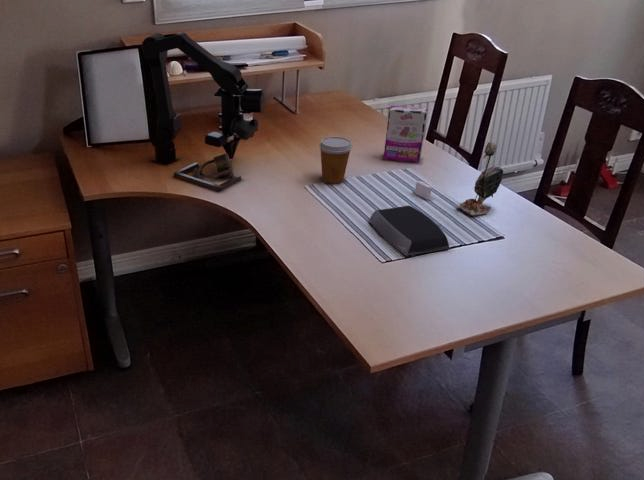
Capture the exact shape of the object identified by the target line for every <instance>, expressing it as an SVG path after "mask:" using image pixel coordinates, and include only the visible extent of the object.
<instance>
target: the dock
mask: <svg viewBox="0 0 644 480" xmlns="http://www.w3.org/2000/svg"><path fill="white" fill-rule="evenodd" d="M195 168H198V169H199V168H200V163H199V162H196V161H195V162H193V163H192V164H189V165H187V166H185V167H183V168H181V169H178V170H177V171H174V172H173V178H175V179H178V180H181V181H185V182H188V183H190V184H193V185H196V186H200V187H203V188H206V189H209V190H212V191H215V192H218V193H220V192H223V191H224V190H226V189H228V188H229V187H231V186H233V185H236V184H237V183H239V182H241V181H242V176H241V175H239V174H238V175H235V176H234V177H233V178H232V177H231V178H230V179H227V180H226V181H224V182H222V183H220V184H216V183H214V182H210V181H207V180H204V179H201V178H200V179H198V178H195V177H194V176H193V175H188V173H190V172H193V171H194V169H195Z"/></svg>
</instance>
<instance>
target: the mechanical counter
mask: <svg viewBox="0 0 644 480" xmlns="http://www.w3.org/2000/svg"><path fill="white" fill-rule="evenodd" d="M231 161H232V160H231V159H230V158H229V155H228V154H227V153H226V152H225V153H223V154H220V155H217V156H213V159H210V160H207V161H206V162H205V163H203V164H202V165H201V167H200V170H199V168H195V169H194V170H192V177H195V178H198V179H201V176H202V177H203V178H206V179H215V178H217V177H219V178H222V177H225V176H228V175H230V176H231V179H232V178H234V177H235V176H234V172H233V170H234V169H233V165H232V162H231ZM210 164H214V165H215V166H214V167H215V170H216V172H217V173H214V174H210V175H209V174H205V173H203V171H204V169H205V167H207V166H208V165H210Z"/></svg>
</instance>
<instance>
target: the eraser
mask: <svg viewBox="0 0 644 480" xmlns="http://www.w3.org/2000/svg"><path fill="white" fill-rule="evenodd" d="M432 190H433V186H431V185H429V184H427V183H425V182H423V181H421V180H418V181H416V183H415V189H414V194H415V195H417V196H419V197H421V198H422V199H424V200H426V201H428V200H430V199H431V194H432Z"/></svg>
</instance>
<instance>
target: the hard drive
mask: <svg viewBox="0 0 644 480" xmlns="http://www.w3.org/2000/svg"><path fill="white" fill-rule="evenodd" d="M368 221H369V223H370V224H371V225H372V226H373V228H374V229H375V230H376V231H377V232H378V233H379V234H380V235H381V236H382V237H383V238H384V239H385V241H387V242H388V243H389V244H391V245H392V247H394V248H395V249H396V250H398V251H399V252H400V253H401V254H403V255H404V256H406V257H407V256H408V257H409V256H413V255H419V254H427V253H432V252H439V251H444V250H449V249H450V243H449V239H448V237H447V235H446V234H445V232H444V231H443V230H442V228H440V226H439V225H438V224H437V223H435V222H434V221H433V220H432V218H430V217H429V216H428V215H427V214H424V213H423V212H421V211H420V210H419V209H417V208H415V207H413V206H411V205H404V206H397V207H391V208H382V209H375V210H374V211H373V213H372V214H371V216H370V217H369V219H368Z"/></svg>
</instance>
